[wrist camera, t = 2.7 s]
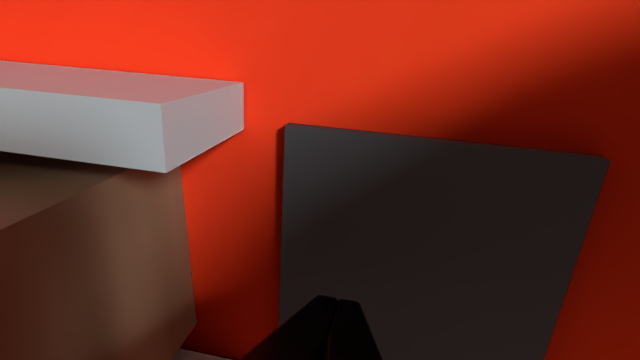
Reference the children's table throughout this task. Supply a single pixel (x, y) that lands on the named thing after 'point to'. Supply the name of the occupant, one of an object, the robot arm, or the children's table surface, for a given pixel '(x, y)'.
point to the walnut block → (92, 261)
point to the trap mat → (435, 238)
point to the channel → (116, 119)
